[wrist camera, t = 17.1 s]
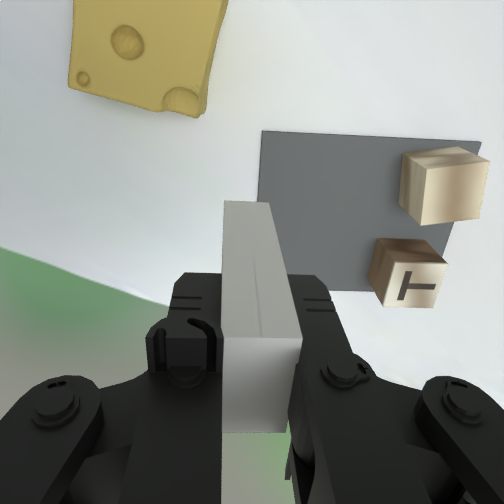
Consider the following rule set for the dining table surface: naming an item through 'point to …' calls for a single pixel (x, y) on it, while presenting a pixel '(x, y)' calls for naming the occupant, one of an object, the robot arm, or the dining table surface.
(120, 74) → the cheese
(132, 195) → the dining table surface
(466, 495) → the robot arm
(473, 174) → the maple block
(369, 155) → the rubber mat
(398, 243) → the walnut block
